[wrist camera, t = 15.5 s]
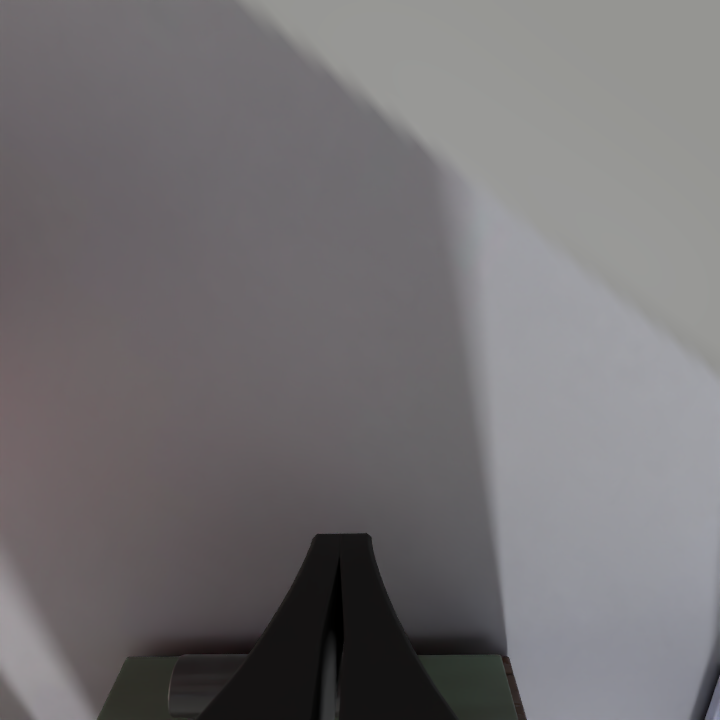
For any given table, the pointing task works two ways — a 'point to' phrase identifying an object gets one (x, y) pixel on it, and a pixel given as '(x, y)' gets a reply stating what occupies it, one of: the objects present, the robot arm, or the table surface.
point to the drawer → (448, 672)
